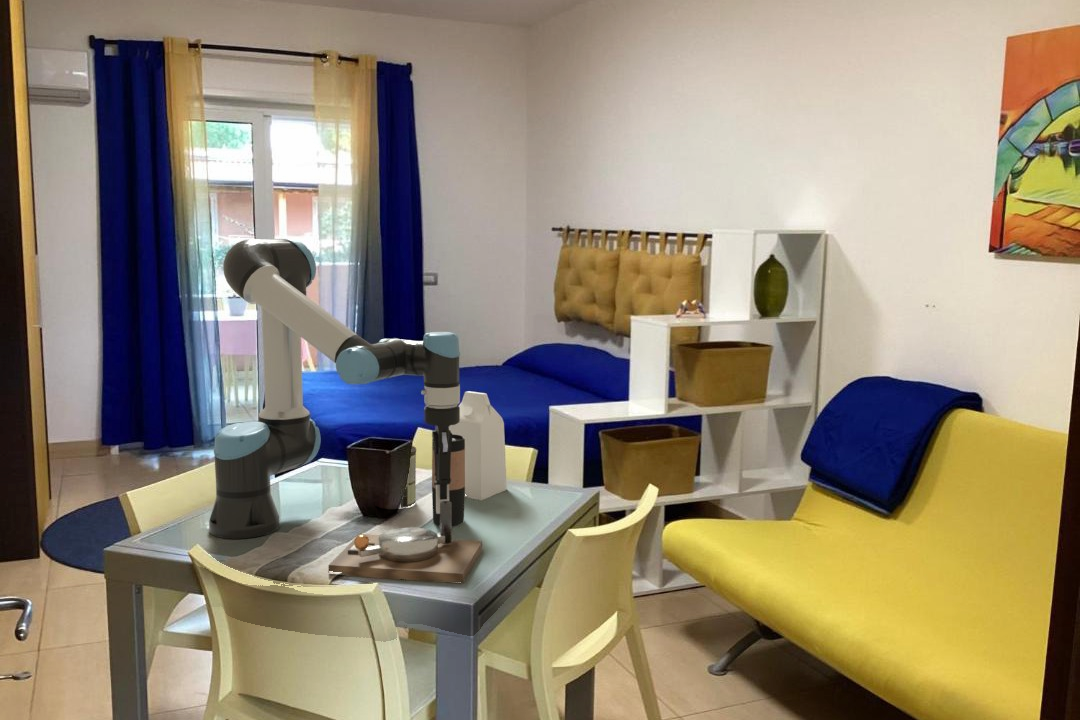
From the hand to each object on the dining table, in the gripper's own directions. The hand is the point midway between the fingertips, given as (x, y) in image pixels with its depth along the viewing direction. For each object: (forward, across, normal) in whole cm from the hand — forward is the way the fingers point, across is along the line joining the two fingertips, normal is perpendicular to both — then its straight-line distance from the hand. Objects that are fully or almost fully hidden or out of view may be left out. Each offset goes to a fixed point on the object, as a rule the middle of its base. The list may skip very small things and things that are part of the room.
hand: (442, 512), depth 201 cm
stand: (+7, +10, -8) cm, 15 cm away
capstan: (+5, +10, -8) cm, 14 cm away
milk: (+7, -39, +13) cm, 42 cm away
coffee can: (+7, -31, -8) cm, 33 cm away
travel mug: (+7, -15, +3) cm, 17 cm away
